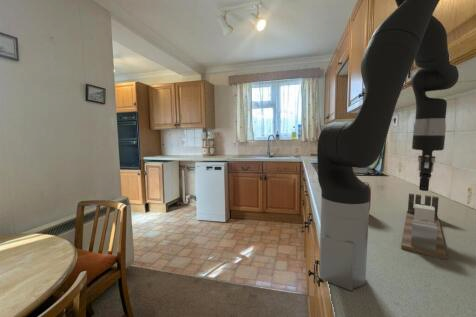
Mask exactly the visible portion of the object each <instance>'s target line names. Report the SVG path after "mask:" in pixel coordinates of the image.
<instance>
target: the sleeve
mask: <svg viewBox="0 0 476 317" xmlns="http://www.w3.org/2000/svg"><path fill="white" fill-rule="evenodd" d="M414 208H415V213H414V220H419V221H420V220H424V221H427V222H430V223H434V216H435V208H434V207H433V206H432V205H431V206H426V205H425V204H424V205H419V204H415V203H414Z"/></svg>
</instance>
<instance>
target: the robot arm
mask: <svg viewBox="0 0 476 317" xmlns="http://www.w3.org/2000/svg"><path fill="white" fill-rule="evenodd" d="M394 1H395V3H396V4H395V5H396V7H397V8H396V9H395V10H394V11H392V12H391V13H390V14H389V15H388V16H387V17H386V18H385V19H384V20H383V21H382V22H381V23H380V24H379V25H378V27H377V28H376V29H375V30H374V31H373V33H372V35H371V37H370V39H369V41H368V44H367V46H366V49H365V51H364V53H363V55H362V59H361V61H360V75H361V78H362V83H363V85H364V90H365V91H364V92H365V94H364V97H363V101H362V103H361V106H360V108H359V111H358V113H356V114H357V115H356V116H355V118H354V119H353V120H346V121H336V122H329V124H326V125H325V126H324V127H323V128H322V129H321V131H320V133H319V136H318V139H317V147H316V148H317V150H316V152H317V153H316V154H317V156H316V159H317V180H318V184H319V186H320V190H321V203H320V207H321V208H320V234H319V236H320V237H319V262H318V263H319V264H318V265H319V268H318V269H319V274H320V279H321V280H323V281H325V282H328V283H329V284H333V285H336V286H338V287H341V288H343V289H345V290H348V291H353V290H354V289H355V288H356V289H357V288H359V287H362V286H363V285H365V283H366V280H367V279H366V278H367V259H368V258H367V257H368V256H367V255H368V240H369V239H368V237H369V215H370V212H369V202H370V203H371V201H370V189H369V187H368V186H367V185H366V184H365V183H363V182H364V181H363V180H361V179H360V178H359V177H358V176H357V175H356V174H355V172H354V169H353V168H357V169H366V168H369V167H371V166H372V165H373V164H375V163H376V161H377V160H378V159H379V157H380V155H381V154H382V151H383V148H384V147H385V143H386V140H387V137H388V134H389V130H390V127H391V122H392V119H393V116H394V112H395V109H396V106H397V103H398V101H399V97H400V96H401V93H402V89H403V87H404V84H405V82H406V79H407V77H408V74H409V73H410V70H411V68H412V66H413V64H415V66H416V67H418V68H419V69H417V70H416V71H414V72H413V74H412V76H411V79H410V82H411V87H412V91H413V94H414V98H415V105H416V106H415V108H416V109H415V118H414V125H413V131H412V132H413V133H412V145H411V149H412V150H415V151H421V155H418V158H417V162H418V171H419V172H418V173H419V187H418V188H419V191H422V192H428V191H429V187H430V180H431V179H432V173H433V171H434V164H435V163H436V156H435V155H433V152H434V151H437V152H438V151H443V150H444V149H445V141H446V132H447V131H446V129H447V124H446V123H447V122H446V120H447V110H448V109H447V107H448V102H447V100H446V99H444V98H440V97H439V98H437V97H430V96H427V94H426V93H427V92H434V91H435V92H436V91H444V90H448V89H452V88H453V87H455V85H456V84H457V83H458V81H459V76H460V75H459V70H458V68H457V65H456V66H453V65H451V64H450V62H449V55H450V53H449V46H448V36H447V30H446V28H445V26H444V25H443V23H442V22H441V21H440V20H439V19H438V18H436V16H434V12H435V10H436V8H437V7H438V4H439V2H440V1H441V0H394ZM414 62H415V63H414Z"/></svg>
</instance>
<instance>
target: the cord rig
mask: <svg viewBox="0 0 476 317" xmlns="http://www.w3.org/2000/svg"><path fill="white" fill-rule="evenodd" d="M439 199H440V198H439V196H435V195H426V194H425V196H424V204H422V202H421V201H422V194H418V193H417V194H414V193H410V192H409V193H408V201H407V202H408V203H407V210H406V214H405V221H404V227H403V233H402V239H401V245H400V248H401V249H402V250H406V251H411V252H415V253H419V254H421V255H427V256H430V257H435V258H439V259H443V260H447V251H446V247H445V242H444V238H443V233H442V228H441V223H440V220H439V215H438V213H439V212H438V210H439ZM415 204H419V205H426V206H433V207H434V208H435V216H434V223H430V222H427V221H424V220H420V221H419V220H414V213H415Z"/></svg>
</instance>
